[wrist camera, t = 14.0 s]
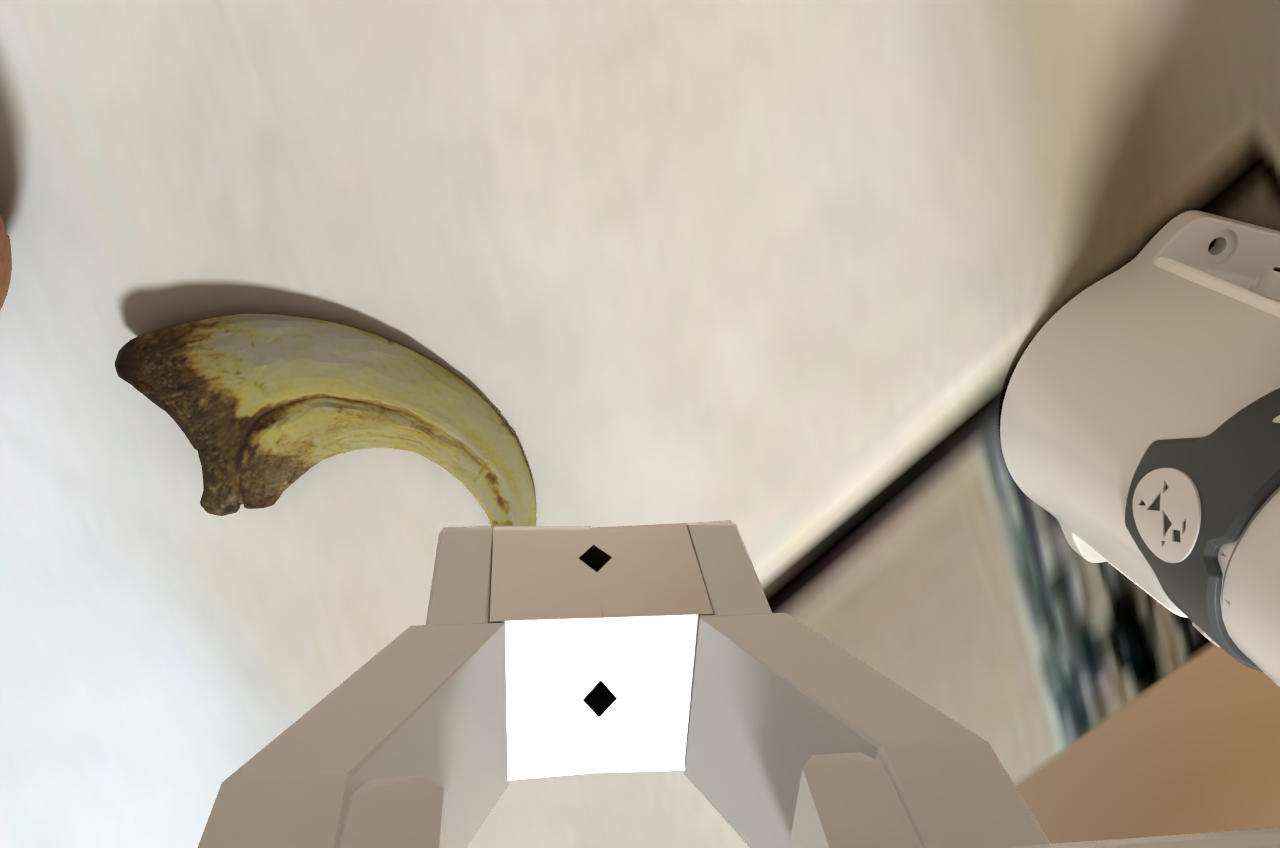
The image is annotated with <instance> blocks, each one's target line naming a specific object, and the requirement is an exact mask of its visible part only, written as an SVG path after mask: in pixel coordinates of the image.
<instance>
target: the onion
mask: <svg viewBox="0 0 1280 848" xmlns="http://www.w3.org/2000/svg"><path fill="white" fill-rule="evenodd" d="M11 270H12V262H11V245H10V239H9V236H8V235H7V233H6V229H5V226H4V223H3V220H2V218H1V216H0V309H1V308H2V306H3V303H4V301H5V298H6V296H7V292H8V288H9V284H10V278H11Z"/></svg>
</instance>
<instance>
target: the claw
mask: <svg viewBox="0 0 1280 848" xmlns="http://www.w3.org/2000/svg"><path fill="white" fill-rule="evenodd" d="M115 367H116V371H117V374H118V376H119V377H120V378H122V379H123V380H125V381H126V382H128V383H130V384H131V385H132V386H133V387H134V388H136V389H137V390H138V391H140V392H141V393H142V394H144V395H145V396H146V397H147V398H148V399H150V400H151V401H152V402H153V403H155V404H156V405H157V406H159V407H160V408H162V409H163V410H165V411H166V412H167V413H168V414H169V415H170V416H171V417H172V418H173V419H174V421H175V422H176V423H177V424H178V426H179V427H180V428H181V430H182V431H183V432H184V433H185V435H186V436H187V438H188V440H189V441H190V443H191V444H192V445H193V447H194V448H195V449H196V450H198V454H199V458H200V461H201V465H202V472H203V483H204V491H203V494H202V498H201V501H200V504H201V506H202V507H203V508H204V509H205V511H206V512H208V513H209V514H214V515H219V516H223V515H228V514H232V513H236V512H237V511H238V510H239V508H240V505H241V504H244V507H245V508H248V509H253V508H265V507H268V506H272V505H274V504H275V502H276V501H277V500H278V499H279V497H280V495H281V494H282V493H283V491H284V490H285V489H286V488H288V487H289V486H290V485H291V484H292V483H293V482H295V481H296V480H297V479H298V478H299V477H301V476H302V475H303V474H305V473H306V472H307V471H308V470H309V469H310V468H311V467H312V466H314V465H315V464H317V463H319V462H320V461H322V460H324V459H326V458H329V457H331V456H334V455H337V454H339V453H346V452H349V451H352V450H357V449H367V448H393V449H401V450H408V451H413V452H415V453H418V454H420V455H422V456H424V457H426V458H428V459H430V460H432V461H434V462H436V463H437V464H439V465H440V466H442V467H444V468H445V469H446V470H448V471H449V472H450V473H451V474H452V475H454V476H455V477H456V478H457V479H458V480H460V481H461V482H462V483H463V484H464V485H465V486H466V487H467V488H468V490H469V491H470V492H471V493H472V494H473V496H474V497H475V498H476V500H477V501H478V502H479V503H480V505H481V506H482V508H483V509H484V510H485V512H486V514H487V516H488V518H489V520H490V523H491V527H492V529H493V530H494V527H515V526H535V523H536V502H535V492H534V486H533V482H532V479H531V475H530V473H529V470H528V467H527V464H526V461H525V459H524V456H523V454H522V451H521V448H520V446H519V444H518V442H517V440H516V438H515V437H514V435H513V434H512V432H511V431H510V430H509V429H508V428H507V427H506V425H505V423H504V422H503V420H502V419H501V418H500V416H499V415H498V414H497V413H496V412H495V410H494V409H493V408H492V407H491V406H490V405H489V404H488V403H487V402H486V401H485V400H484V399H483V398H482V397H481V396H480V395H479V394H478V393H477V392H476V391H475V390H473V389H472V388H471V387H470V386H469V385H468V384H466V383H465V382H464V381H462V380H461V379H459V378H458V377H457V376H455V375H454V374H453V373H451V372H450V371H448V370H447V369H445V368H443V367H442V366H440V365H439V364H437V363H435V362H434V361H432V360H430V359H429V358H427V357H425V356H423V355H421V354H419V353H417V352H415V351H413V350H411V349H409V348H407V347H405V346H403V345H401V344H399V343H397V342H394V341H388V340H387V339H385V338H384V337H381V336H378V335H375V334H372V333H370V332H367V331H364V330H361V329H358V328H354V327H350V326H347V325H343V324H339V323H334V322H330V321H325V320H319V319H311V318H304V317H296V316H287V315H276V314H236V315H230V316H220V317H214V318H208V319H202V320H198V321H193V322H188V323H183V324H179V325H175V326H171V327H168V328H165V329H161V330H158V331H154V332H151V333H147V334H142V335H140V336H138V337H136V338H134V339H132V340H130V341H129V342H128V343H126V344H125V345H124V346H123V347H122V348H121V349H120V350H119V352H118V355H117V358H116V361H115Z"/></svg>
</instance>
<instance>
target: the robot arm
mask: <svg viewBox="0 0 1280 848" xmlns="http://www.w3.org/2000/svg"><path fill="white" fill-rule="evenodd" d="M1215 238H1216V241H1215V244H1214V246H1213V247H1212V248H1211V249H1210V250H1208V248H1209V245H1210V243H1211V242H1212V241H1213V240H1214V239H1215ZM1000 438H1001V447H1002V452H1003V456H1004V459H1005V463H1006V465H1007V467H1008V470H1009V472H1010V474H1011V476H1012V478H1013V479H1014V481H1015V482H1016V484H1017V485H1018V486H1019V488H1020V489H1021V490H1022V491H1023V492H1024V493H1025V494H1026V495H1027V496H1028V497H1029V498H1030V499H1031V500H1032V501H1034V502H1035V503H1037V504H1038V505H1039V506H1041V507H1042V508H1044V509H1045V510H1047V511H1048V512H1049V513H1051V514H1052V515H1053V516H1054V517H1055V518H1056V519H1057V520H1058V521H1059V523H1060V526H1061V528H1062V531H1063V533H1064V535H1065V538H1066V540H1067V541H1068V543H1069V545H1070V546H1071V548H1072V549H1073V550H1074V551H1075V552H1076V553H1078V554H1079V555H1080V556H1081V557H1083V558H1084V559H1085V560H1087V561H1089V562H1093V563H1099V562H1106V561H1107V562H1109V563H1110V564H1111V565H1112V566H1114V567H1115V568H1116V569H1117V570H1119V571H1120V572H1121V573H1122V574H1124V575H1125V576H1126V577H1127V578H1129V579H1130V580H1131V581H1132V582H1134V583H1135V584H1136V585H1137V586H1139V587H1140V588H1141V589H1143V590H1144V591H1145V592H1146V593H1148V594H1149V595H1150V596H1152V597H1153V598H1154V599H1155V600H1157V601H1158V602H1159V603H1161V604H1162V605H1163V606H1164V607H1166V608H1167V609H1168V610H1170V611H1171V612H1173V613H1174V614H1177V615H1179V616H1182V617H1186V618H1189V619H1190V620H1191V621H1192V622H1193V623H1192V625H1193V626H1194V627H1195V628H1196V629H1197V630H1198V631H1199V632H1200V633H1201V634H1203V635H1204V636H1205V637H1206V638H1207V639H1208V640H1209V641H1211V642H1212V643H1213V644H1215V645H1216V646H1218V647H1221V648H1222V649H1224V650H1225V651H1226V652H1227V653H1228V654H1229V655H1231V656H1232V657H1233V658H1235V659H1236V660H1237V661H1238V662H1240V663H1242V664H1244V665H1246V666H1248V667H1250V668H1252V669H1255V670H1258V671H1261V672H1264V673H1265V674H1266V675H1267V676H1269V677H1270V678H1271V679H1272V680H1273V681H1274V682H1275V683H1276V684H1277V685H1278V686H1279V687H1280V231H1277V230H1273V229H1269V228H1265V227H1261V226H1257V225H1253V224H1249V223H1245V222H1241V221H1238V220H1234V219H1230V218H1226V217H1222V216H1218V215H1214V214H1210V213H1206V212H1202V211H1195V210H1194V211H1187V212H1184V213H1181V214H1180V215H1178V216H1176V217H1175V218H1173V219H1172V220H1171V221H1170V222H1169V223H1167V224H1166V225H1165V226H1164V227H1163V228H1162V229H1161V230H1160V231H1159V232H1158V233H1157V234H1156V235H1155V236H1154V237H1153V238H1152V239H1151V241H1150V242H1149V243H1148V244H1147V245H1146V246H1145V247H1144V248H1143V249H1142V250H1141V252H1140V253H1139V254H1138V255H1137V256H1136V257H1135V258H1134V259H1133V260H1132V261H1130V262H1129V263H1128V264H1126V265H1125V266H1123V267H1122V268H1120V269H1119V270H1117V271H1115V272H1114V273H1112V274H1110V275H1108V276H1107V277H1105V278H1103V279H1101V280H1100V281H1098V282H1096V283H1094V284H1093V285H1091V286H1090V287H1088V288H1087V289H1085V290H1083V291H1082V292H1081V293H1079V294H1078V295H1077V296H1075V297H1074V298H1073V299H1071V300H1070V301H1069V302H1068V303H1067V304H1065V305H1064V306H1063V307H1062V308H1061V309H1060V310H1059V311H1058V312H1056V313H1055V314H1054V315H1053V316H1052V317H1051V318H1050V320H1049V321H1048V322H1047V323H1046V324H1045V325H1044V326H1043V327H1042V328H1041V330H1040V331H1039V332H1038V333H1037V335H1036V336H1035V337H1034V339H1033V340H1032V341H1031V343H1030V344H1029V346H1028V347H1027V349H1026V350H1025V352H1024V353H1023V355H1022V357H1021V358H1020V360H1019V362H1018V364H1017V366H1016V368H1015V370H1014V372H1013V375H1012V377H1011V379H1010V382H1009V385H1008V387H1007V390H1006V394H1005V397H1004V401H1003V406H1002V412H1001V421H1000ZM669 770H685V773H684V774H685V775H686V776H687V777H688V779H689V780H690V781H691V782H692V783H693V784H694V785H695V786H696V788H697V789H698V790H699V791H700V792H701V793H702V794H703V795H704V797H705V798H706V799H707V800H708V801H709V802H710V803H711V804H712V805H713V807H714V808H715V809H716V810H717V811H718V812H719V813H720V814H721V816H722V817H723V818H724V819H725V820H726V821H727V822H728V823H729V824H730V826H731V827H732V828H733V829H734V830H735V831H736V832H737V833H738V835H739V836H740V837H741V838H742V839H743V840H744V841H745V842H746V843H747V845H748V846H749V847H750V848H1280V828H1266V829H1253V830H1240V831H1227V832H1214V833H1201V834H1187V835H1173V836H1160V837H1144V838H1129V839H1115V840H1100V841H1086V842H1071V843H1057V844H1050V842H1049V841H1048V839H1047V838H1046V836H1045V834H1044V833H1043V831H1042V830H1041V828H1040V826H1039V824H1038V823H1037V821H1036V819H1035V818H1034V816H1033V815H1032V813H1031V811H1030V810H1029V808H1028V806H1027V805H1026V803H1025V801H1024V800H1023V798H1022V797H1021V795H1020V794H1019V792H1018V790H1017V788H1016V787H1015V785H1014V783H1013V782H1012V780H1011V779H1010V777H1009V775H1008V774H1007V772H1006V770H1005V769H1004V767H1003V765H1002V764H1001V762H1000V761H999V759H998V757H997V756H996V754H995V752H994V751H993V749H992V747H991V746H990V744H989V743H988V742H987V741H985V740H984V739H982V738H981V737H979V736H977V735H976V734H974V733H973V732H971V731H970V730H968V729H966V728H965V727H963V726H962V725H960V724H959V723H957V722H956V721H954V720H952V719H951V718H949V717H948V716H946V715H945V714H943V713H941V712H940V711H938V710H937V709H935V708H934V707H932V706H931V705H929V704H927V703H926V702H924V701H923V700H921V699H920V698H918V697H916V696H915V695H913V694H912V693H910V692H909V691H907V690H906V689H904V688H902V687H901V686H899V685H898V684H896V683H895V682H893V681H891V680H890V679H888V678H887V677H885V676H884V675H882V674H881V673H879V672H877V671H876V670H874V669H873V668H871V667H870V666H868V665H866V664H865V663H863V662H862V661H860V660H859V659H857V658H856V657H854V656H852V655H851V654H849V653H848V652H846V651H845V650H843V649H841V648H840V647H838V646H837V645H835V644H834V643H832V642H831V641H829V640H827V639H826V638H824V637H823V636H821V635H820V634H818V633H816V632H815V631H813V630H812V629H810V628H809V627H807V626H806V625H804V624H802V623H801V622H799V621H798V620H796V619H795V618H793V617H791V616H790V615H788V614H787V613H772V612H771V609H770V607H769V604H768V602H767V599H766V597H765V594H764V592H763V589H762V587H761V584H760V582H759V580H758V577H757V575H756V572H755V570H754V567H753V565H752V562H751V560H750V557H749V555H748V552H747V550H746V547H745V545H744V543H743V540H742V538H741V535H740V533H739V530H738V528H737V525H736V524H735V523H733V522H732V521H713V522H697V523H682V524H660V525H639V526H617V527H596V528H591V527H590V526H515V527H494V530H493V529H492V528H491V527H490V526H475V527H446V528H443V529H442V530H441V532H440V533H439V538H438V545H437V552H436V559H435V566H434V572H433V579H432V586H431V593H430V600H429V607H428V614H427V621H426V625H422V626H411V627H409V628H408V629H407V630H405V631H404V632H403V633H402V634H401V635H399V636H398V637H397V638H396V639H395V640H393V641H392V642H391V643H390V644H389V645H387V646H386V647H385V648H384V649H383V650H381V651H380V652H379V653H378V654H377V655H375V656H374V657H373V658H372V659H371V660H369V661H368V662H367V663H366V664H365V665H363V666H362V667H361V668H360V669H358V670H357V671H356V672H355V673H354V674H352V675H351V676H350V677H349V678H348V679H346V680H345V681H344V682H343V683H342V684H340V685H339V686H338V687H337V688H336V689H334V690H333V691H332V692H331V693H330V694H328V695H327V696H326V697H325V698H324V699H322V700H321V701H320V702H319V703H318V704H316V705H315V706H314V707H313V708H312V709H310V710H309V711H308V712H307V713H306V714H304V715H303V716H302V717H301V718H300V719H298V720H297V721H296V722H295V723H293V724H292V725H291V726H290V727H289V728H287V729H286V730H285V731H284V732H283V733H281V734H280V735H279V736H278V737H277V738H275V739H274V740H273V741H272V742H271V743H269V744H268V745H267V746H266V747H265V748H263V749H262V750H261V751H260V752H259V753H257V754H256V755H255V756H254V757H253V758H251V759H250V760H249V761H248V762H247V763H245V764H244V765H243V766H242V767H241V768H239V769H238V770H237V771H236V772H235V773H233V774H232V775H231V776H230V777H228V778H227V779H226V780H225V781H224V782H222V784H221V787H220V790H219V792H218V795H217V798H216V800H215V803H214V806H213V808H212V811H211V814H210V816H209V819H208V822H207V824H206V827H205V830H204V832H203V835H202V838H201V840H200V843H199V846H198V848H466V847H467V846H468V844H469V843H470V841H471V840H472V838H473V837H474V835H475V834H476V832H477V831H478V829H479V828H480V827H481V825H482V824H483V822H484V821H485V819H486V818H487V816H488V815H489V813H490V812H491V810H492V809H493V807H494V806H495V804H496V803H497V801H498V800H499V798H500V797H501V795H502V794H503V792H504V791H505V789H506V788H507V786H508V780H513V779H525V778H537V777H549V776H561V775H573V774H585V773H599V772H634V771H669Z"/></svg>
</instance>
